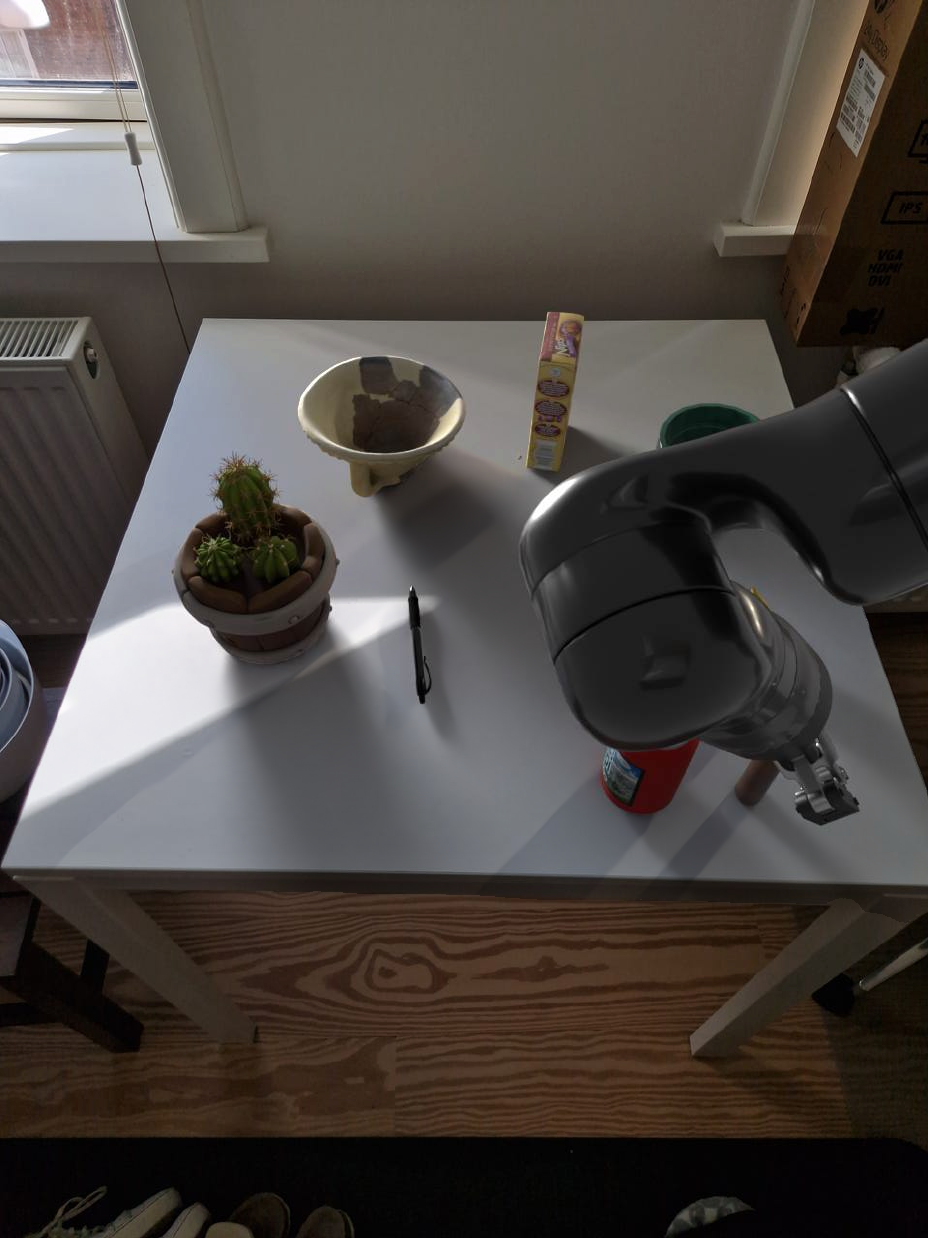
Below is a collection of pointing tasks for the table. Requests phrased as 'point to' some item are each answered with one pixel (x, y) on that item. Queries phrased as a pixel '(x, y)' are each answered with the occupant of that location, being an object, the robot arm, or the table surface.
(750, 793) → the stirring stick
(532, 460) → the candy box
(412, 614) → the pen
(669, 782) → the beverage can
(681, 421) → the mixing bowl
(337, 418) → the bowl
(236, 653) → the flowerpot
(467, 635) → the table surface
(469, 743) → the table surface
